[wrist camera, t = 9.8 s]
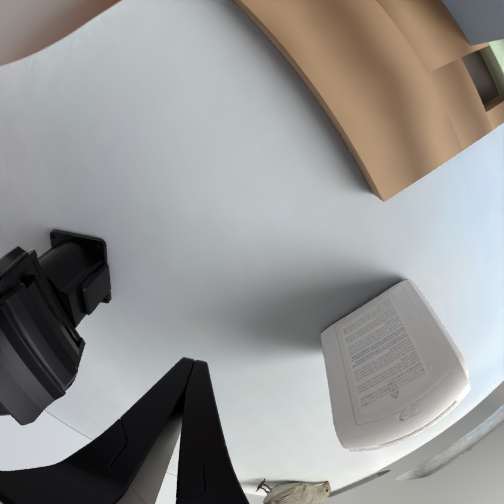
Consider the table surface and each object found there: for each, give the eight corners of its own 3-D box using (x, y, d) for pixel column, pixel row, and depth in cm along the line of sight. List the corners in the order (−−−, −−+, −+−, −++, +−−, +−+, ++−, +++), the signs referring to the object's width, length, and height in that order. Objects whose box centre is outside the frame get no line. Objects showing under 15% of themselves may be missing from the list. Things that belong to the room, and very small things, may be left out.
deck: (373, 194, 19) (402, 216, 14) (227, -5, 13) (215, -37, 9) (536, 88, 12) (568, 92, 7) (440, -64, 6) (463, -81, 2)
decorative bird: (324, 484, 46) (325, 510, 39) (254, 482, 45) (252, 510, 38) (333, 477, 43) (336, 505, 36) (260, 475, 43) (258, 506, 36)
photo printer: (334, 356, 26) (354, 468, 15) (311, 332, 24) (327, 457, 13) (423, 300, 22) (484, 401, 11) (408, 269, 21) (482, 376, 10)
